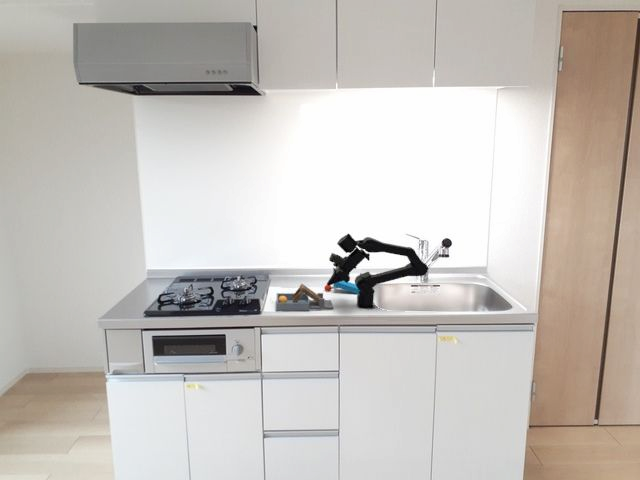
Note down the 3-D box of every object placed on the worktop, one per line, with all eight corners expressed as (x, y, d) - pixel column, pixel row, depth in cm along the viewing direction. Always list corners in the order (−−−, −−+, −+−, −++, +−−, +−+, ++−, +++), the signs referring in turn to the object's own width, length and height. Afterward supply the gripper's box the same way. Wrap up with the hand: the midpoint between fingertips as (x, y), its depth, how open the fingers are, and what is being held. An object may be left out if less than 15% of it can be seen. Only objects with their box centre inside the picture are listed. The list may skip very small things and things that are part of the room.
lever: (358, 299, 230) (324, 288, 231) (362, 286, 229) (328, 275, 230) (358, 304, 224) (322, 292, 224) (362, 290, 222) (327, 278, 223)
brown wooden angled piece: (321, 297, 207) (301, 283, 205) (322, 302, 201) (302, 287, 199) (311, 310, 208) (291, 296, 206) (312, 315, 201) (291, 301, 199)
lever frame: (330, 302, 210) (331, 292, 209) (333, 309, 200) (333, 299, 199) (308, 302, 209) (309, 292, 208) (310, 309, 199) (310, 299, 198)
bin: (307, 300, 211) (307, 293, 210) (309, 311, 197) (309, 303, 196) (276, 300, 210) (276, 293, 209) (276, 311, 196) (276, 303, 195)
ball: (277, 302, 205) (286, 303, 205) (277, 305, 201) (286, 306, 201) (279, 293, 204) (288, 295, 204) (279, 296, 200) (288, 298, 200)
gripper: (338, 243, 210) (313, 267, 211) (342, 251, 191) (315, 277, 192) (355, 260, 211) (330, 284, 213) (361, 269, 193) (334, 295, 194)
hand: (327, 284), depth 203 cm, fingers closed
